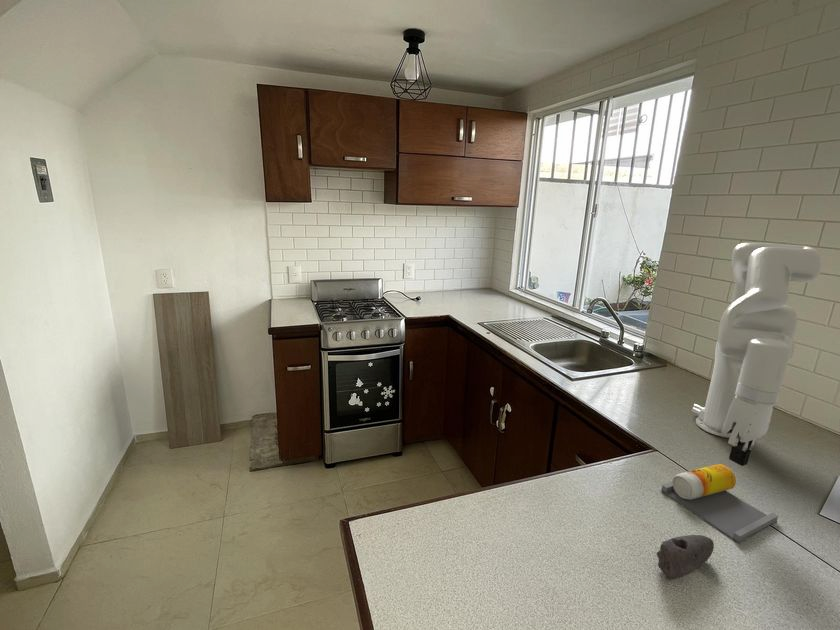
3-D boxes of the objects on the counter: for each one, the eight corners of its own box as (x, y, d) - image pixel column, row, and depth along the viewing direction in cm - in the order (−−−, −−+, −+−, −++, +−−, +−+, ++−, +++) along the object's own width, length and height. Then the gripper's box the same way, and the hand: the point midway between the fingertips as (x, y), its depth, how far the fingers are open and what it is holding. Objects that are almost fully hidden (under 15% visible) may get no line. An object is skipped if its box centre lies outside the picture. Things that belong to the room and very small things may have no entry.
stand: (661, 491, 106) (662, 485, 105) (698, 475, 112) (699, 470, 112) (738, 543, 90) (740, 536, 90) (776, 522, 97) (778, 515, 96)
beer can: (731, 462, 106) (686, 473, 101) (742, 488, 103) (697, 500, 99) (710, 464, 111) (667, 475, 106) (720, 489, 109) (677, 500, 104)
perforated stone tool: (697, 547, 89) (704, 520, 87) (721, 567, 84) (729, 539, 82) (644, 567, 84) (650, 539, 82) (668, 589, 79) (675, 560, 77)
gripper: (757, 380, 101) (739, 446, 106) (719, 391, 95) (702, 460, 100) (794, 393, 95) (773, 463, 100) (756, 406, 89) (736, 479, 94)
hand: (737, 461), depth 100 cm, fingers closed
